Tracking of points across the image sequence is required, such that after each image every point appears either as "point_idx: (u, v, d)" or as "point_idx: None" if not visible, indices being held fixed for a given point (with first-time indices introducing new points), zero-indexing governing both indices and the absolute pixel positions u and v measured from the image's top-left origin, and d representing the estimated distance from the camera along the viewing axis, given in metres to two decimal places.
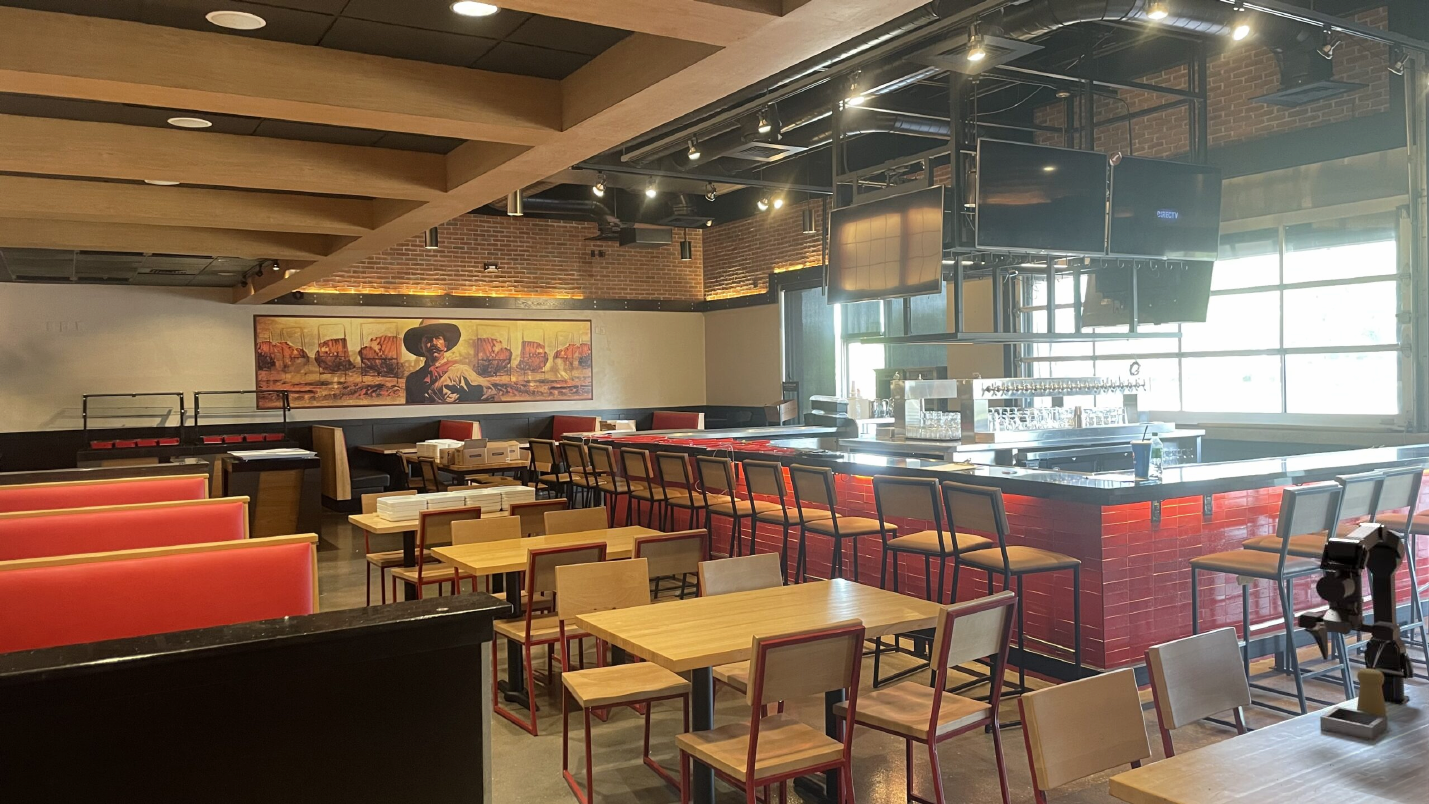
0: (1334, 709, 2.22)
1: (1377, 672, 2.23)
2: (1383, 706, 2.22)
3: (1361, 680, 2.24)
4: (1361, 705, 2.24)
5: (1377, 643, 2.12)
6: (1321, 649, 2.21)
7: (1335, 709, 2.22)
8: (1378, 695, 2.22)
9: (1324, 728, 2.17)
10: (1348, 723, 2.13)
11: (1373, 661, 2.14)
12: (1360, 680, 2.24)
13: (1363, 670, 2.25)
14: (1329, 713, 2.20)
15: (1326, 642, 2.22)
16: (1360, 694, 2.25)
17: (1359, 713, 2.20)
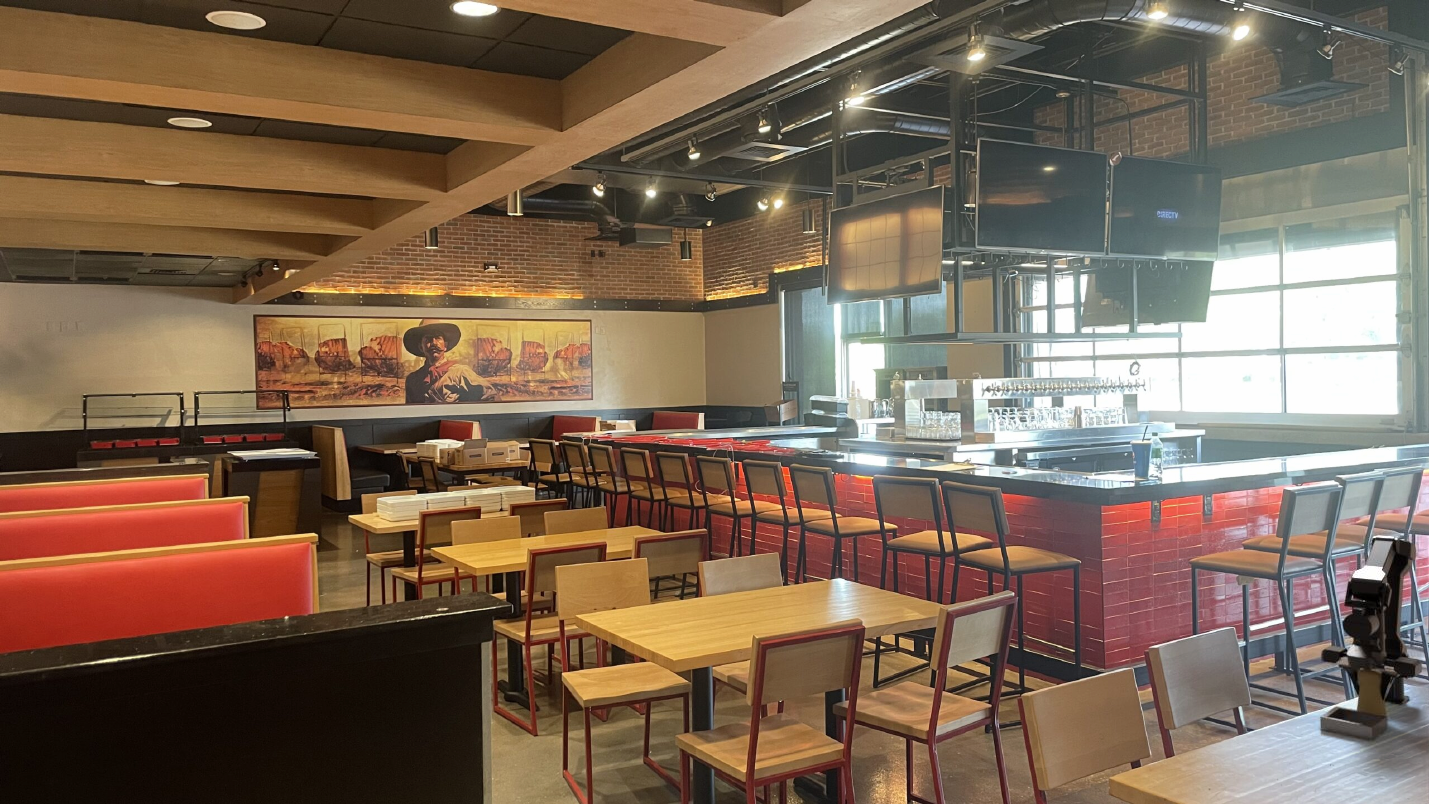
0: (1334, 709, 2.22)
1: (1377, 672, 2.23)
2: (1383, 706, 2.22)
3: (1361, 680, 2.24)
4: (1361, 705, 2.24)
5: (1388, 676, 2.20)
6: (1355, 685, 2.26)
7: (1335, 709, 2.22)
8: (1378, 695, 2.22)
9: (1324, 728, 2.17)
10: (1348, 723, 2.13)
11: (1384, 694, 2.22)
12: (1360, 680, 2.24)
13: (1363, 670, 2.25)
14: (1329, 713, 2.20)
15: None
16: (1360, 694, 2.25)
17: (1359, 713, 2.20)
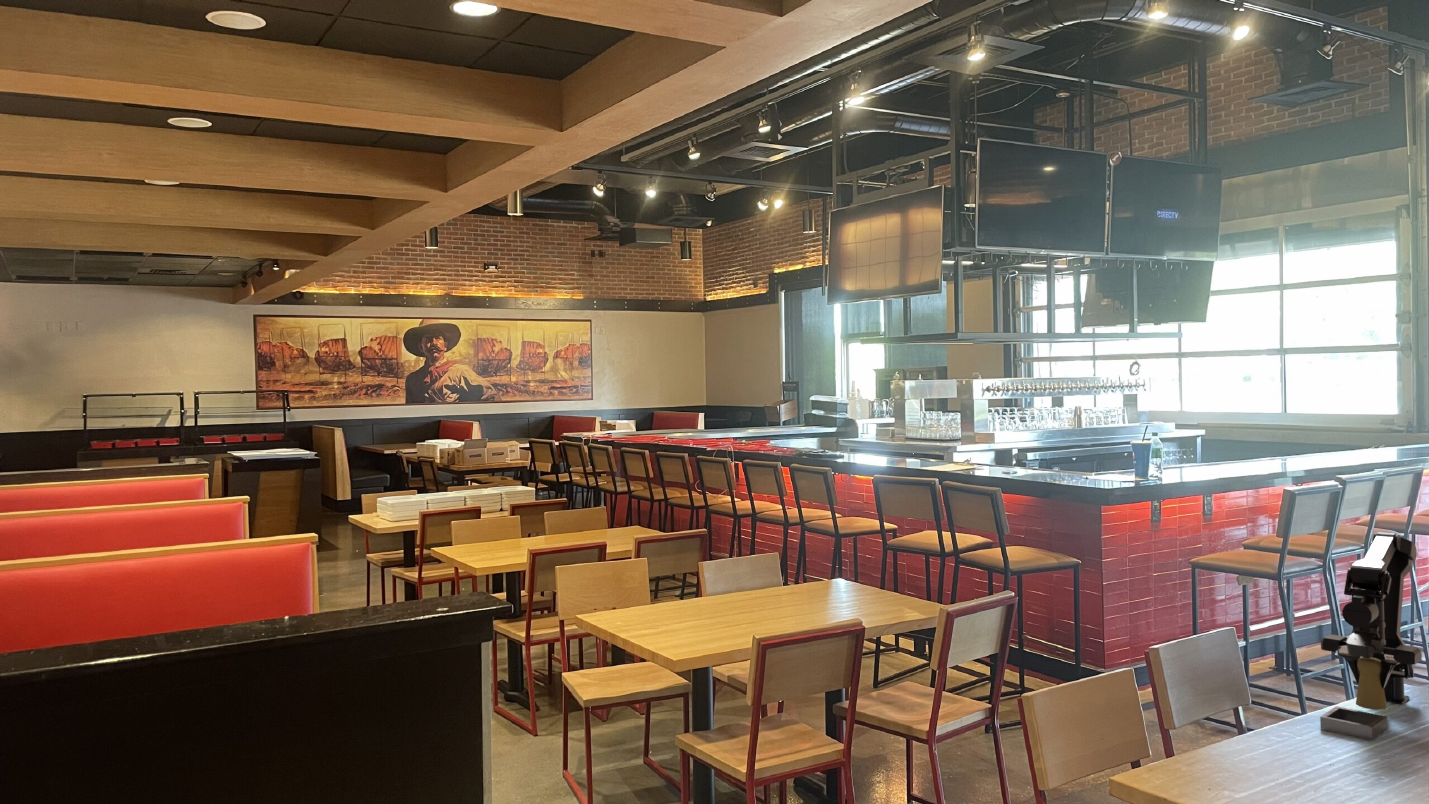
0: (1334, 709, 2.22)
1: (1377, 660, 2.23)
2: (1383, 694, 2.22)
3: (1361, 668, 2.24)
4: (1361, 694, 2.24)
5: (1388, 665, 2.20)
6: (1354, 673, 2.26)
7: (1335, 709, 2.22)
8: (1377, 684, 2.22)
9: (1324, 728, 2.17)
10: (1348, 723, 2.13)
11: (1384, 682, 2.22)
12: (1359, 668, 2.24)
13: (1363, 658, 2.25)
14: (1329, 713, 2.20)
15: None
16: (1360, 682, 2.25)
17: (1359, 713, 2.20)
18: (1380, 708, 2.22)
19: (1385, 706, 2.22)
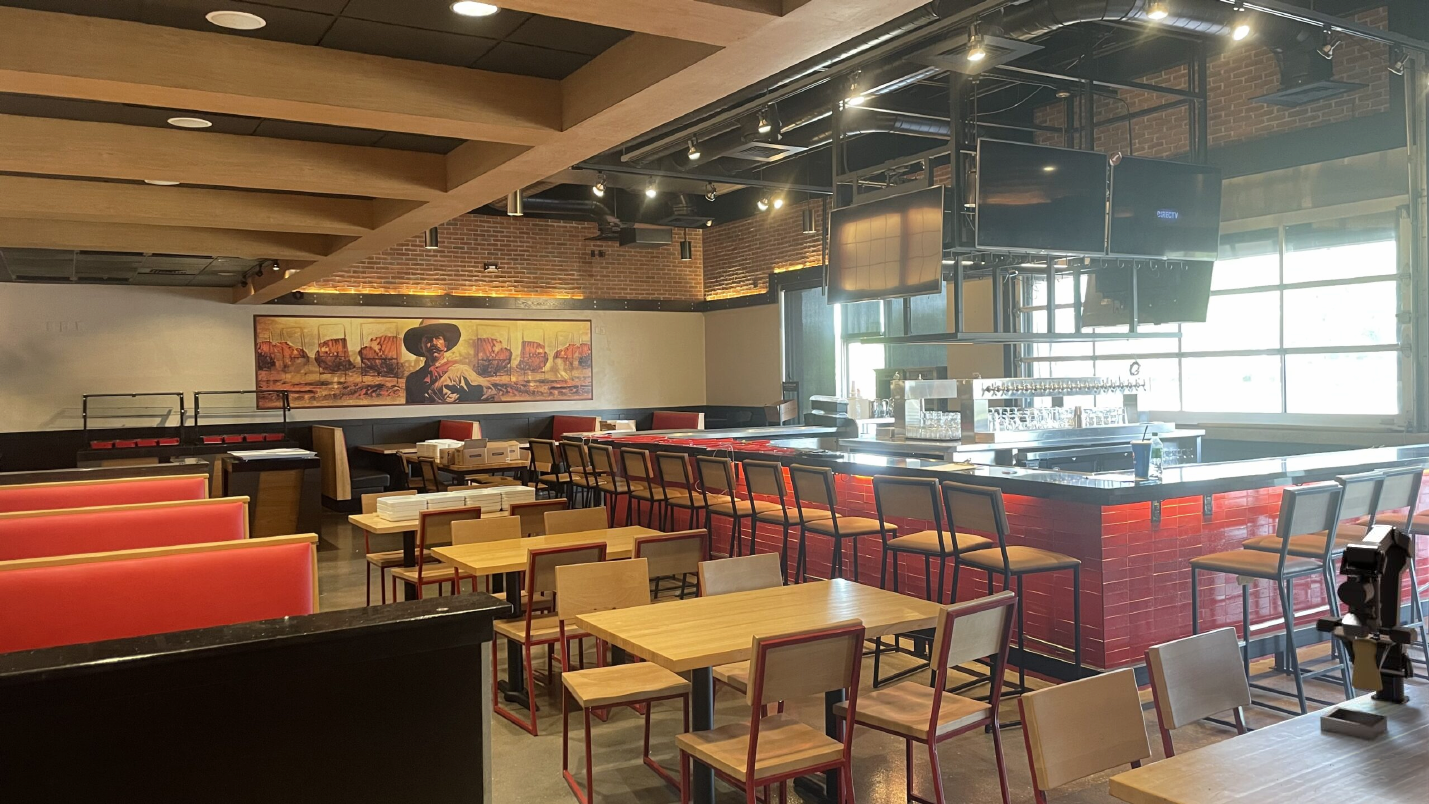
0: (1334, 709, 2.22)
1: (1372, 641, 2.21)
2: (1378, 675, 2.20)
3: (1356, 649, 2.22)
4: (1356, 675, 2.22)
5: (1383, 645, 2.18)
6: (1350, 654, 2.24)
7: (1335, 709, 2.22)
8: (1373, 664, 2.20)
9: (1324, 728, 2.17)
10: (1348, 723, 2.13)
11: (1379, 663, 2.20)
12: (1355, 649, 2.23)
13: (1358, 639, 2.23)
14: (1329, 713, 2.20)
15: None
16: (1355, 663, 2.23)
17: (1359, 713, 2.20)
18: (1375, 689, 2.20)
19: (1381, 687, 2.20)
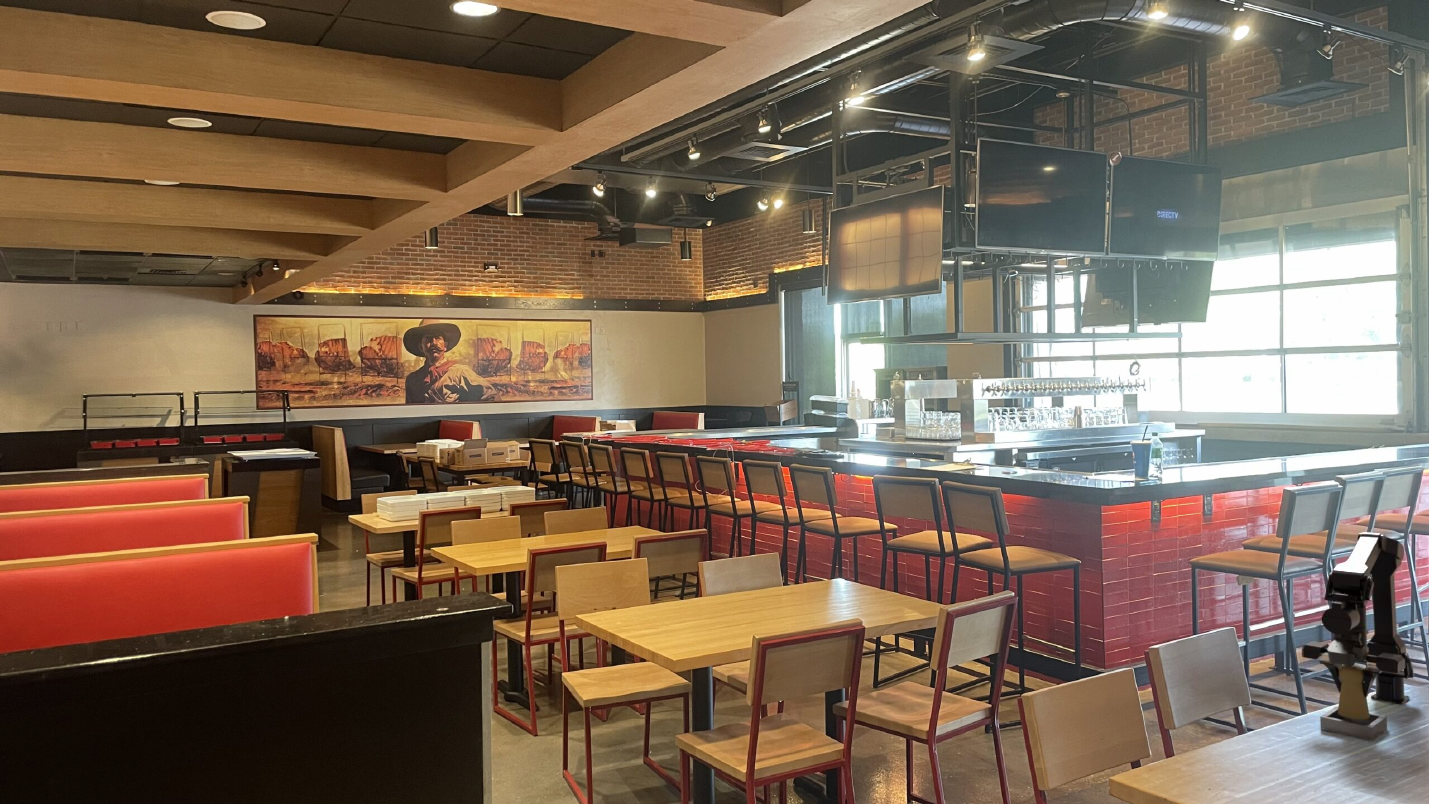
0: (1334, 709, 2.22)
1: (1359, 668, 2.15)
2: (1365, 703, 2.15)
3: (1342, 676, 2.16)
4: (1342, 703, 2.17)
5: (1370, 673, 2.12)
6: (1336, 682, 2.19)
7: (1335, 709, 2.22)
8: (1360, 692, 2.15)
9: (1324, 728, 2.17)
10: (1348, 723, 2.13)
11: (1366, 691, 2.14)
12: (1341, 676, 2.17)
13: (1345, 666, 2.17)
14: (1329, 713, 2.20)
15: None
16: (1342, 691, 2.17)
17: None
18: (1362, 717, 2.14)
19: (1368, 715, 2.15)
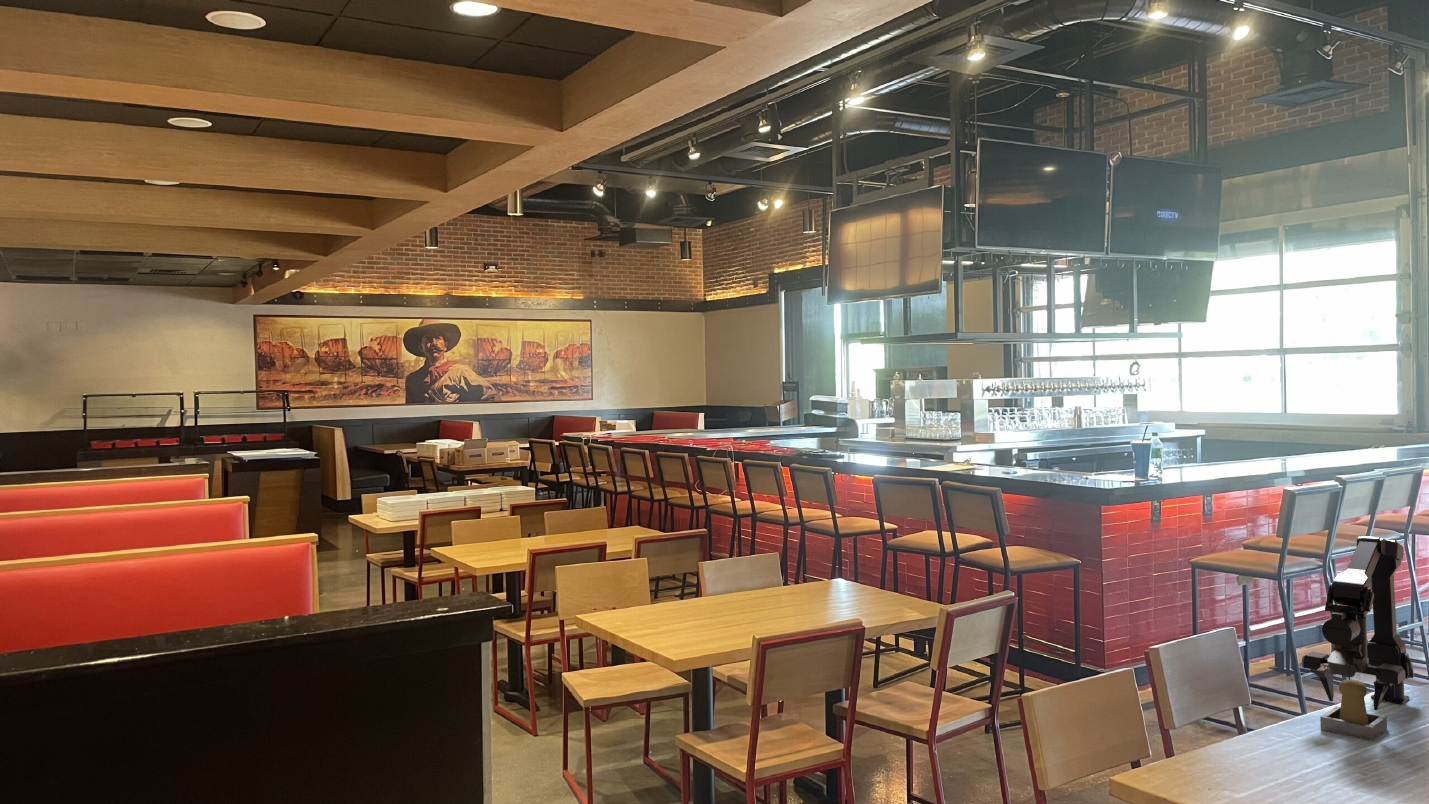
0: (1334, 709, 2.22)
1: (1359, 683, 2.15)
2: (1365, 719, 2.15)
3: (1343, 692, 2.16)
4: (1343, 718, 2.17)
5: (1380, 686, 2.11)
6: (1326, 690, 2.20)
7: (1335, 709, 2.22)
8: (1360, 708, 2.15)
9: (1324, 728, 2.17)
10: (1348, 723, 2.13)
11: (1376, 703, 2.13)
12: (1341, 691, 2.17)
13: (1345, 681, 2.17)
14: (1329, 713, 2.20)
15: (1332, 683, 2.21)
16: (1342, 706, 2.17)
17: None
18: None
19: None
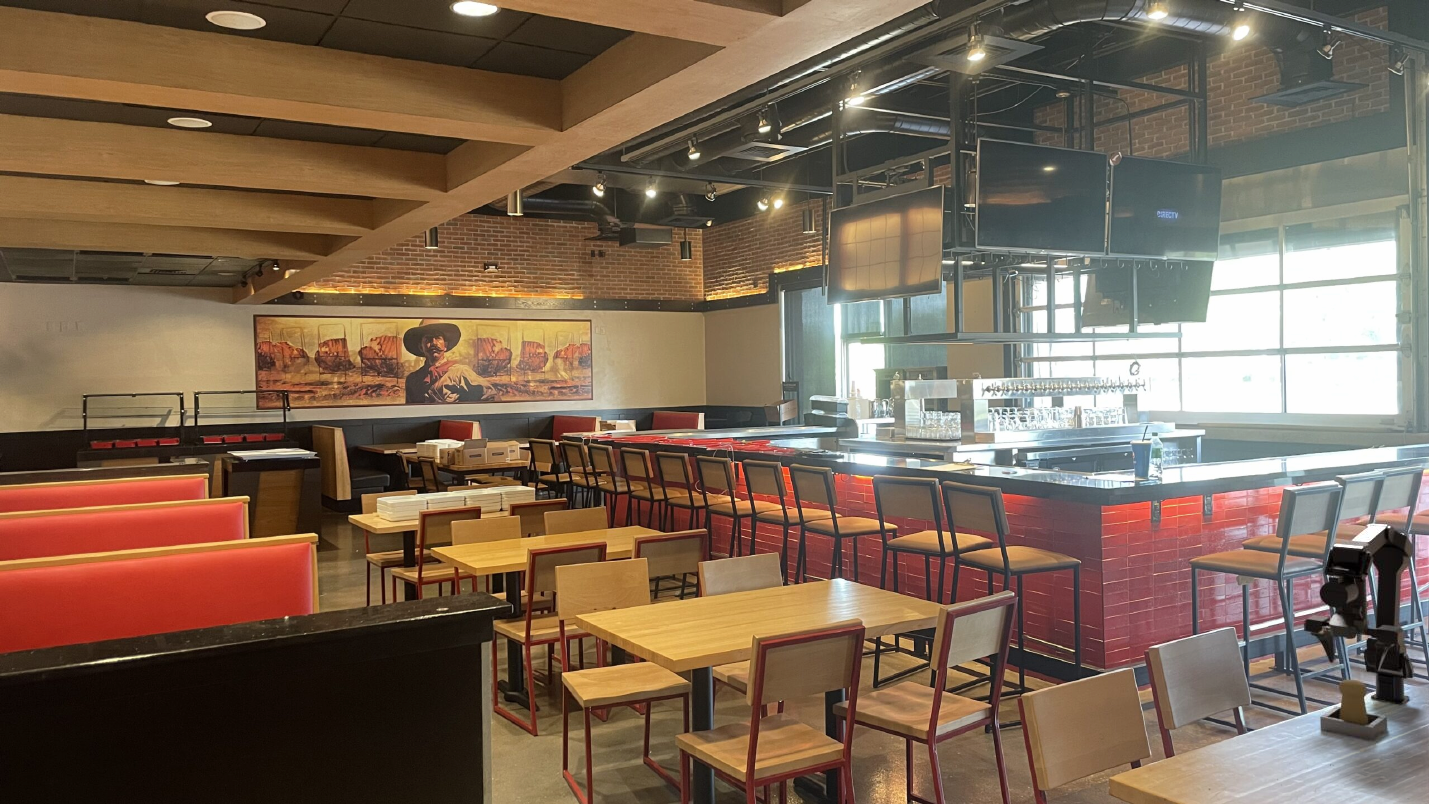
0: (1334, 709, 2.22)
1: (1359, 683, 2.15)
2: (1366, 719, 2.15)
3: (1343, 692, 2.16)
4: (1343, 718, 2.17)
5: (1382, 647, 2.16)
6: (1327, 652, 2.26)
7: (1335, 709, 2.22)
8: (1360, 708, 2.15)
9: (1324, 728, 2.17)
10: (1348, 723, 2.13)
11: (1378, 664, 2.19)
12: (1342, 691, 2.17)
13: (1345, 681, 2.17)
14: (1329, 713, 2.20)
15: (1332, 645, 2.27)
16: (1342, 706, 2.17)
17: None
18: None
19: None
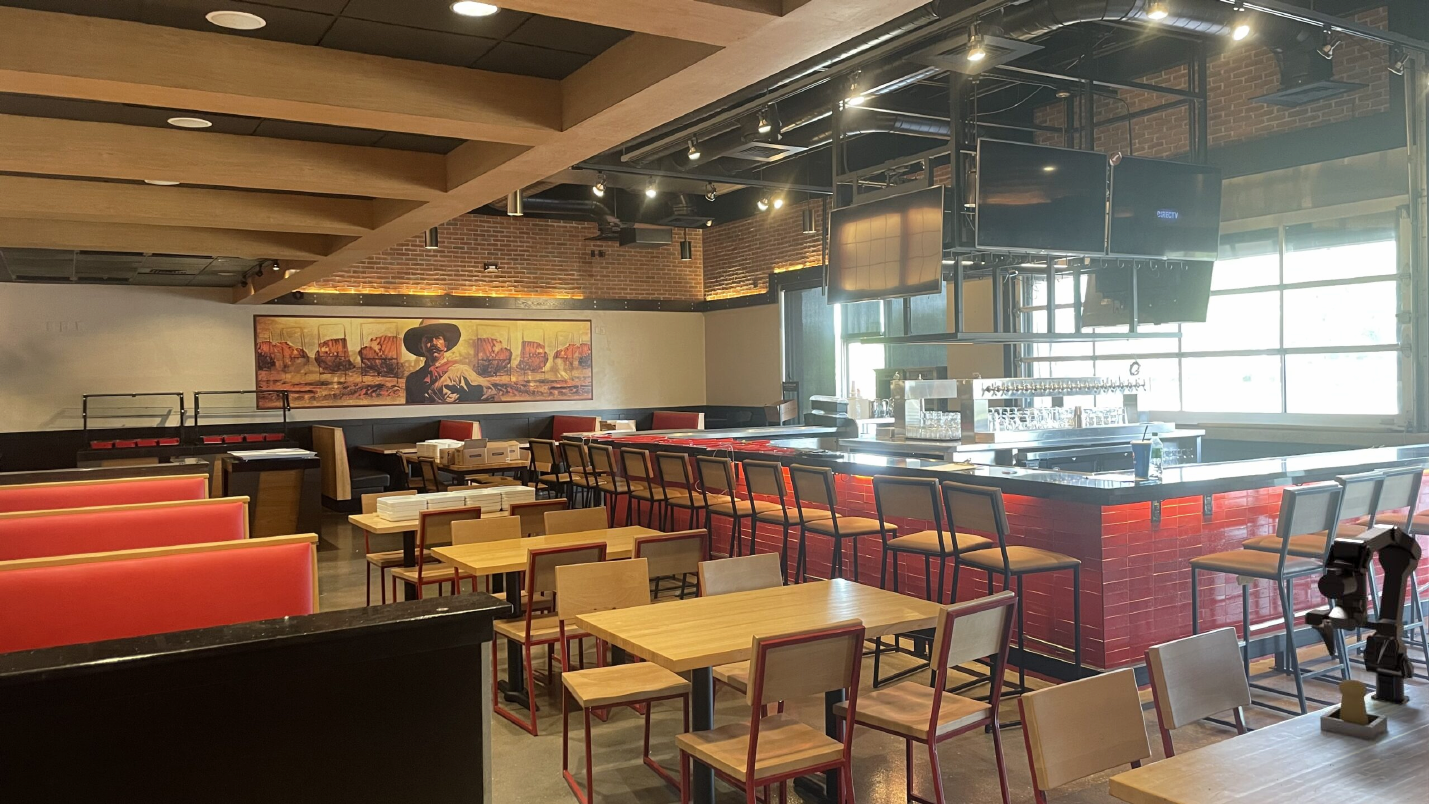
0: (1334, 709, 2.22)
1: (1359, 683, 2.15)
2: (1365, 719, 2.15)
3: (1343, 692, 2.16)
4: (1343, 718, 2.17)
5: (1381, 639, 2.20)
6: (1327, 645, 2.29)
7: (1335, 709, 2.22)
8: (1360, 708, 2.15)
9: (1324, 728, 2.17)
10: (1348, 723, 2.13)
11: (1377, 657, 2.22)
12: (1341, 691, 2.17)
13: (1345, 681, 2.17)
14: (1329, 713, 2.20)
15: (1332, 639, 2.30)
16: (1342, 706, 2.17)
17: None
18: None
19: None
